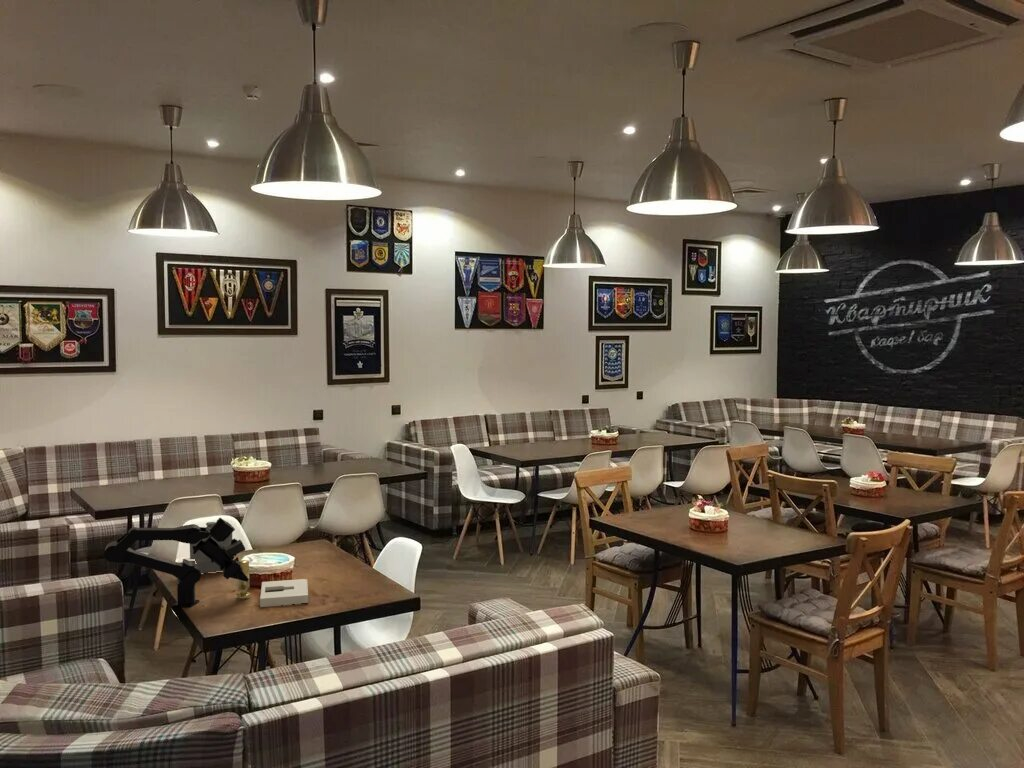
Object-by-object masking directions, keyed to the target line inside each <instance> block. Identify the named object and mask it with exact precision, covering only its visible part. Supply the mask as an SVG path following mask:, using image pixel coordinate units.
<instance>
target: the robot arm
mask: <svg viewBox="0 0 1024 768" xmlns="http://www.w3.org/2000/svg"><path fill="white" fill-rule="evenodd" d="M215 522H216V523H215V524H214V525H213V526H212V527H211V528H208V527H207V526H206V527H205V526H199V525H198V524H196V523H195V524H185V525H181V526H177V527H136V526H135V527H134V526H133V527H131V528H130V529H129V530H128V531H127V532H125V533H124V534H123V535H122V536H120V537H119V538H117V540H113V541H110V542H109V543H107V545H106V546H105V549H104V552H103V557H104V559H105V561H107V562H108V563H113V564H133V565H136V566H139V567H144V568H147V569H150V570H153V571H158V572H161V573H164V574H167V575H168V574H169V575H171V576H173V577H175V578H176V586H177V587H176V596H177V597H176V599H177V602H175V603H174V604H173V607H181V608H182V607H184V608H186V607H187V608H191V607H192V606H194V605H196V604H198V603H199V602H200V599H196V583H198V582H199V581H200V579H201V578H202V575H201V571H200V567H199V566H198V565H197V564H195V561H190V560H188V559H186V558H183V559H182V562H175V561H172V560H169V559H165V558H161V557H158V556H154V555H150V554H147V553H144V552H141V551H140V552H139V551H137V550H135V549H133V548H131V546H132V545H134V544H135V543H136V542H138V541H174V542H179V543H182V544H189V545H190V544H196V543H197V544H196V545H192V548H193V554H195V553H196V552H197V551H198V550H199V551H200V552H202V553H203V554H204V555H205V556H207V557H208V558H209V559H210V560H211V562H212V563H213V562H214V563H215V564H216V565H218V566H219V568H220V569H221V570H223V572H222V576H223V578H224V579H226V580H229V579H230V578H231V579H235V580H237V579H238V580H242V581H246V582H247V581H248V580H249V581H250V578H249V579H248V577H247V576H246V575H245V574H244V572H243V571H242V570H241V569H240V566H241V565H240V562H239V563H238V561H240V560H239V556H238V554H240V553H241V552H242V553H243V552H245V551H246V547H245V545H244V543H243V541H242V540H241V539H236V538H232V540H231V545H229V546H228V547H224V546H220V545H219V544H218V543H217V542H216V541H218V542H221V541H223V542H224V541H225V540H226V539H227V538H228V537H229V536H230V534H231V533H232V534H233V533H234V531H235V530H236V529H235V527H234V526H233V525H232V524H231V523H229V521H227V520H225V519H223V518H222V517H219V518H218V519H217V520H216V521H215ZM211 537H213V538H214V539H215V540H216V541H214V540H213V539H212V538H211ZM238 580H237V581H238Z"/></svg>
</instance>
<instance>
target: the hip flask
mask: <svg viewBox="0 0 1024 768" xmlns="http://www.w3.org/2000/svg"><path fill="white" fill-rule="evenodd" d="M216 522H217V521H208V522H206V523H205V525H206V527H208V528H211V527H212V526H213V525H214V524H215V523H216ZM211 538H212V539H213V540H214V541H216V540H215V539H214V538H213V537H211ZM232 539H233V532H232V533H231V534H230V536H229V537H228V538H227V539H226V540H225V541H224V542H223V541H221V542H218V541H216V542H217V543H218V544H219V545H220V546H224V547H228V546H229V545H231V540H232ZM196 544H197V543H196ZM196 544H189V560H190V559H195V561H196V563H197V565H198V566H199V567H200V571H201V573H208V572H216V571H223V570H221V569H220V568H219V566H218V565H216V564H215V563H214V562H213V563H212V562H211V560H210V559H209V558H208V557H207V556H205V555H204V554H203V553H202V552H200V551H199V550H198V551H197V552H196V553H195V554H193V548H192V545H196Z"/></svg>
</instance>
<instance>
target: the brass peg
mask: <svg viewBox="0 0 1024 768" xmlns="http://www.w3.org/2000/svg"><path fill="white" fill-rule="evenodd" d="M239 562H240V565H241V566H240V569H241V570H242V571H243V572H244V574H245V575H246V576H247V577H248V579H249V580H248V581H247V582H246V581H242V580H238V579H236V580H237V589H238V590H239V592H238V593H237V594H236V599H237V600H239V599H240V600H239V601H241V600H242V601H244V600H248V599H251V597H252V593H251V592H248V589H249V588H250V560H247V559H246V560H245V559H243V560H239V561H238V563H239Z"/></svg>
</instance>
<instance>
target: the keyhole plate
mask: <svg viewBox="0 0 1024 768" xmlns="http://www.w3.org/2000/svg"><path fill="white" fill-rule="evenodd" d="M260 588H261V590H260V597H259V600H260V602H259V604H260V605H259V606H260V608H267V607H269V608H270V607H279V606H280V607H282V606H281V605H283V606H293V605H292V604H295V605H302V604H301V603H308V604H309V591H308V578H299V579H287V580H285V579H284V580H272V581H271V580H270V581H261V587H260Z"/></svg>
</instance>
